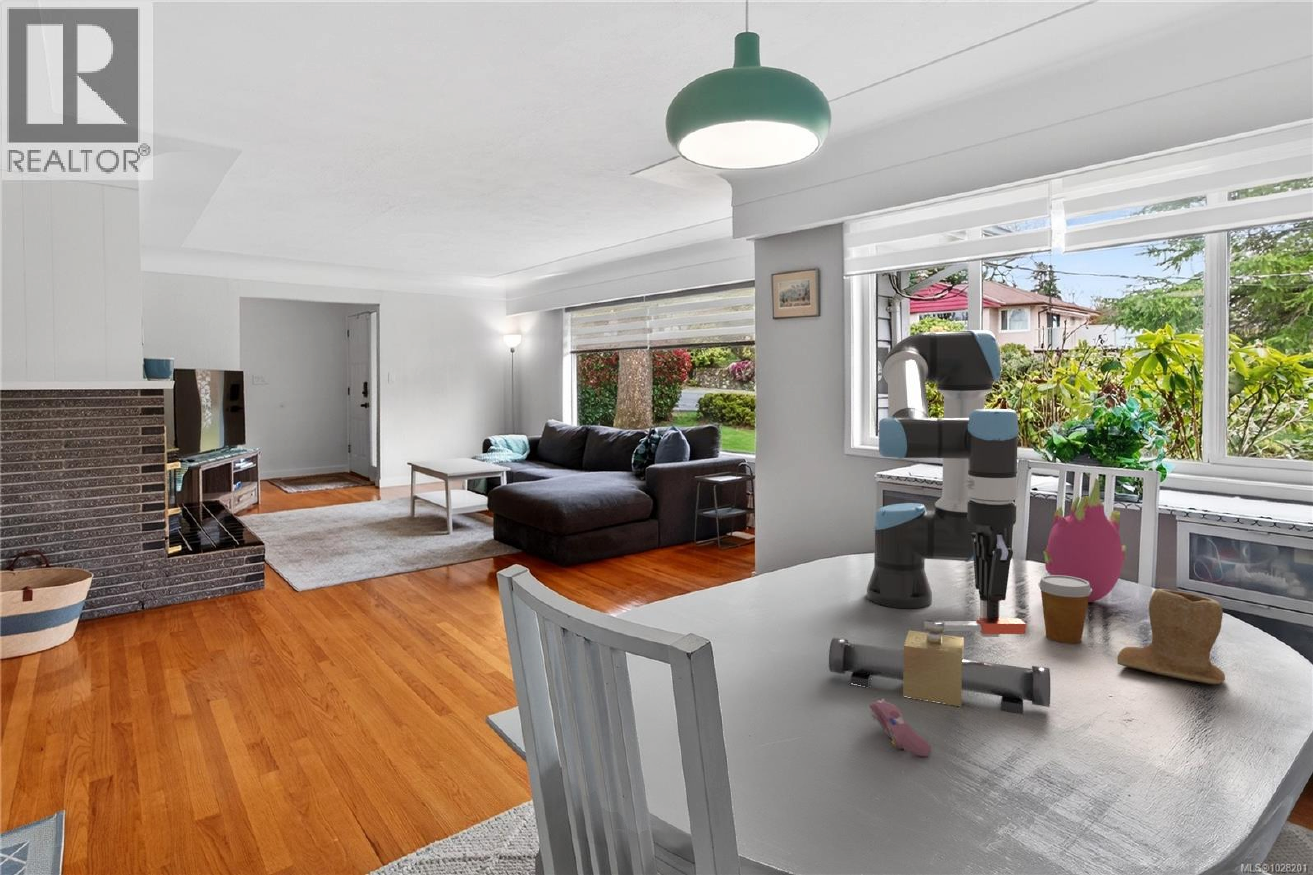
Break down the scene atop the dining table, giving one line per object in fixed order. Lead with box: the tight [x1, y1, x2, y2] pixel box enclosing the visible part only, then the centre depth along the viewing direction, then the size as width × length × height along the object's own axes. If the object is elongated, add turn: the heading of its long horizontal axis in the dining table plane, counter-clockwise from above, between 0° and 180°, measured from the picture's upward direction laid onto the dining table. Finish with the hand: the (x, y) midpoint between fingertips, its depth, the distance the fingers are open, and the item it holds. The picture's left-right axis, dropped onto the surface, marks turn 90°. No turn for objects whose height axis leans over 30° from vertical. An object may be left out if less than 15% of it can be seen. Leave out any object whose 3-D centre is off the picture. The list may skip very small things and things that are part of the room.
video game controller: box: [869, 698, 932, 758], centre depth 103 cm, size 10×5×7 cm, turn 6°
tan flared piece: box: [1116, 588, 1226, 685], centre depth 126 cm, size 15×12×15 cm
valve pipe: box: [828, 630, 1051, 715], centre depth 119 cm, size 8×34×11 cm, turn 64°
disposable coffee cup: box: [1037, 574, 1092, 644], centre depth 144 cm, size 10×10×12 cm
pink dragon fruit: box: [1043, 478, 1127, 603], centre depth 166 cm, size 18×14×30 cm
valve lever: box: [923, 617, 1027, 635], centre depth 119 cm, size 16×3×2 cm, turn 87°
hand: (989, 635), depth 121 cm, fingers closed
